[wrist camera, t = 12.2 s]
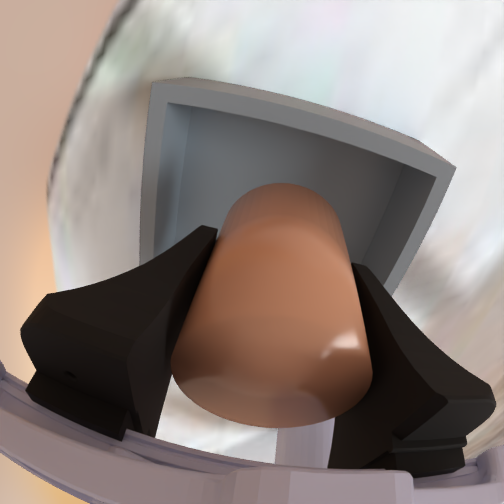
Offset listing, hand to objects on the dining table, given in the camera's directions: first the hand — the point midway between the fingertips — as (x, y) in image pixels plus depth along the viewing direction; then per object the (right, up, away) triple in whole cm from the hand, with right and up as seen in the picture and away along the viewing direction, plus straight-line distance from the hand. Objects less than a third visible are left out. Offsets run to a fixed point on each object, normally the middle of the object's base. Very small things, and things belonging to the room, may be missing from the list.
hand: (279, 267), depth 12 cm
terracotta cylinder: (0, +1, +1) cm, 2 cm away
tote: (0, +2, +9) cm, 9 cm away
